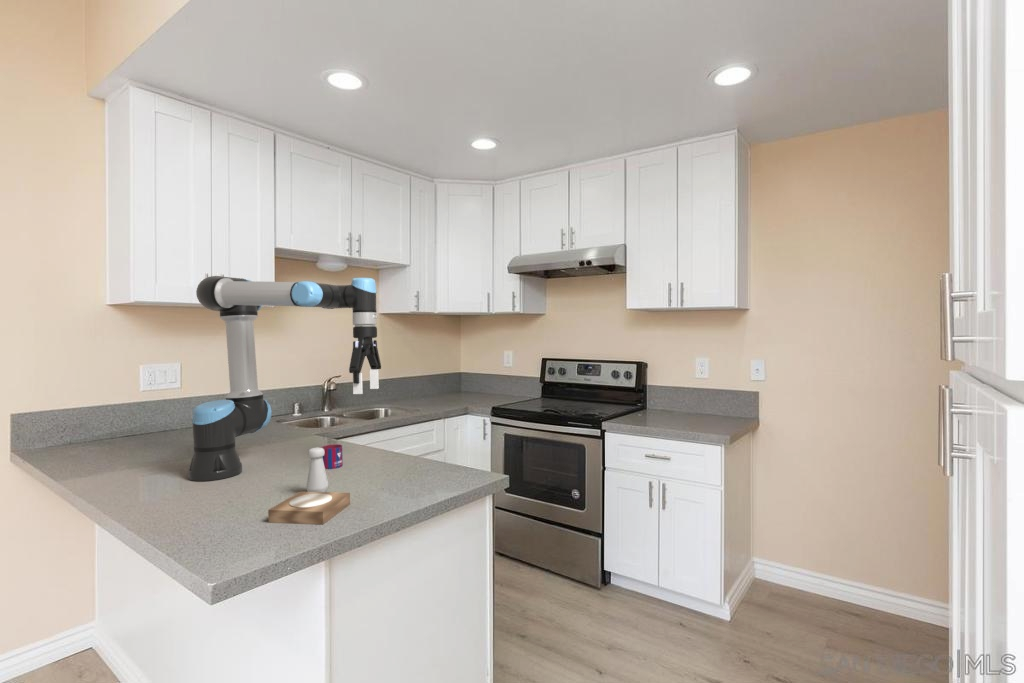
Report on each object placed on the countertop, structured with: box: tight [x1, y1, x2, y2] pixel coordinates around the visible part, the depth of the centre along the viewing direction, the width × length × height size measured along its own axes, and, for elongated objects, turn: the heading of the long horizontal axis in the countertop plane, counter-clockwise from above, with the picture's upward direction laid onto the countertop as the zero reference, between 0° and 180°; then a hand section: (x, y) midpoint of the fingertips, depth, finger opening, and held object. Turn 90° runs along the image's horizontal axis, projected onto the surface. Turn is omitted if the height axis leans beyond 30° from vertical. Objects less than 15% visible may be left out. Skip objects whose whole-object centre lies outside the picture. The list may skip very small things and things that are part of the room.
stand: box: [267, 491, 351, 525], centre depth 129 cm, size 14×14×3 cm
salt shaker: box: [305, 447, 329, 492], centre depth 143 cm, size 6×6×13 cm
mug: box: [317, 443, 344, 470], centre depth 174 cm, size 7×10×7 cm
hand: (366, 391), depth 166 cm, fingers open, 13 cm apart
